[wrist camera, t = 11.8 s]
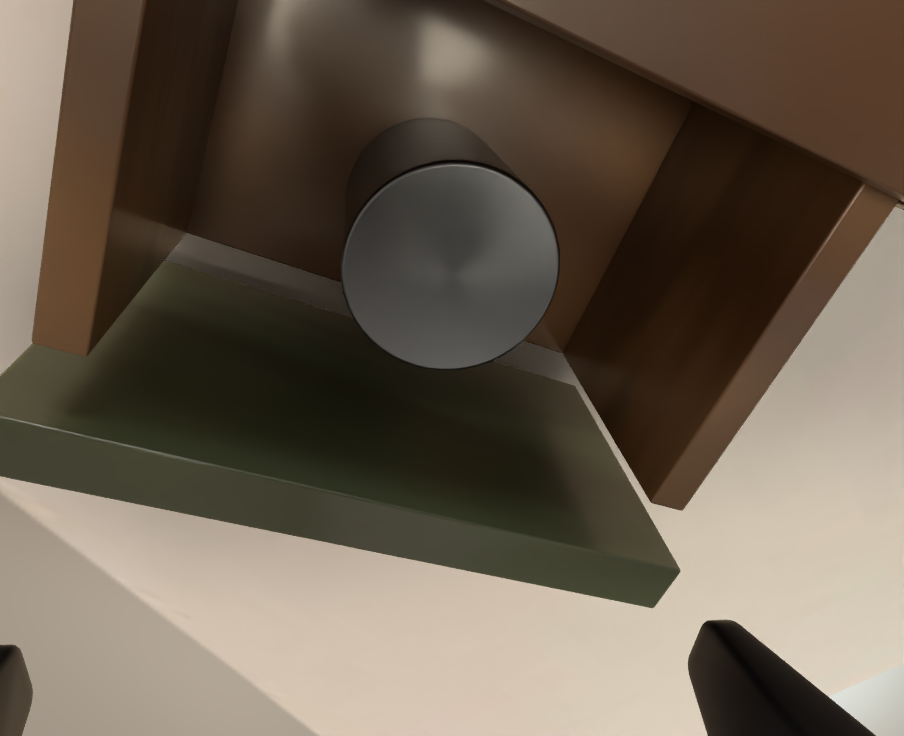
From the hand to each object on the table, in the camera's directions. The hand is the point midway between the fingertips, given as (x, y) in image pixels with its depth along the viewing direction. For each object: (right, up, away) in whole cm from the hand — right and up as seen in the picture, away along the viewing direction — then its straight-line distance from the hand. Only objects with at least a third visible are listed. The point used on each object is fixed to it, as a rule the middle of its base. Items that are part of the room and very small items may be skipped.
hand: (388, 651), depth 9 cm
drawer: (0, +8, +8) cm, 12 cm away
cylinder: (0, +8, +7) cm, 11 cm away
